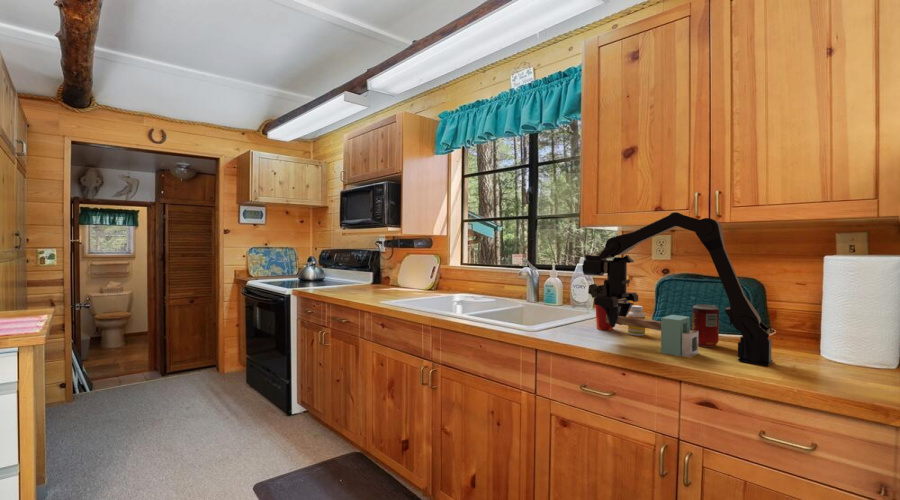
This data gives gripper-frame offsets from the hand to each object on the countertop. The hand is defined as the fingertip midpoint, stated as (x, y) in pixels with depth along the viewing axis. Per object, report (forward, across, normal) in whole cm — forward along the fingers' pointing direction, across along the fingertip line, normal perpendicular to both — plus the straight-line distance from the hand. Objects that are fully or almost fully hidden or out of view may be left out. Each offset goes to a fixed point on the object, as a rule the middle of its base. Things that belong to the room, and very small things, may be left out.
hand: (616, 325), depth 134 cm
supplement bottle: (+5, -16, 0) cm, 17 cm away
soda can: (+5, -16, +20) cm, 27 cm away
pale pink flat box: (+5, 0, +21) cm, 22 cm away
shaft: (-1, 0, +6) cm, 6 cm away
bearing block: (+5, 0, +18) cm, 18 cm away
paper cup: (+5, -17, -12) cm, 22 cm away
